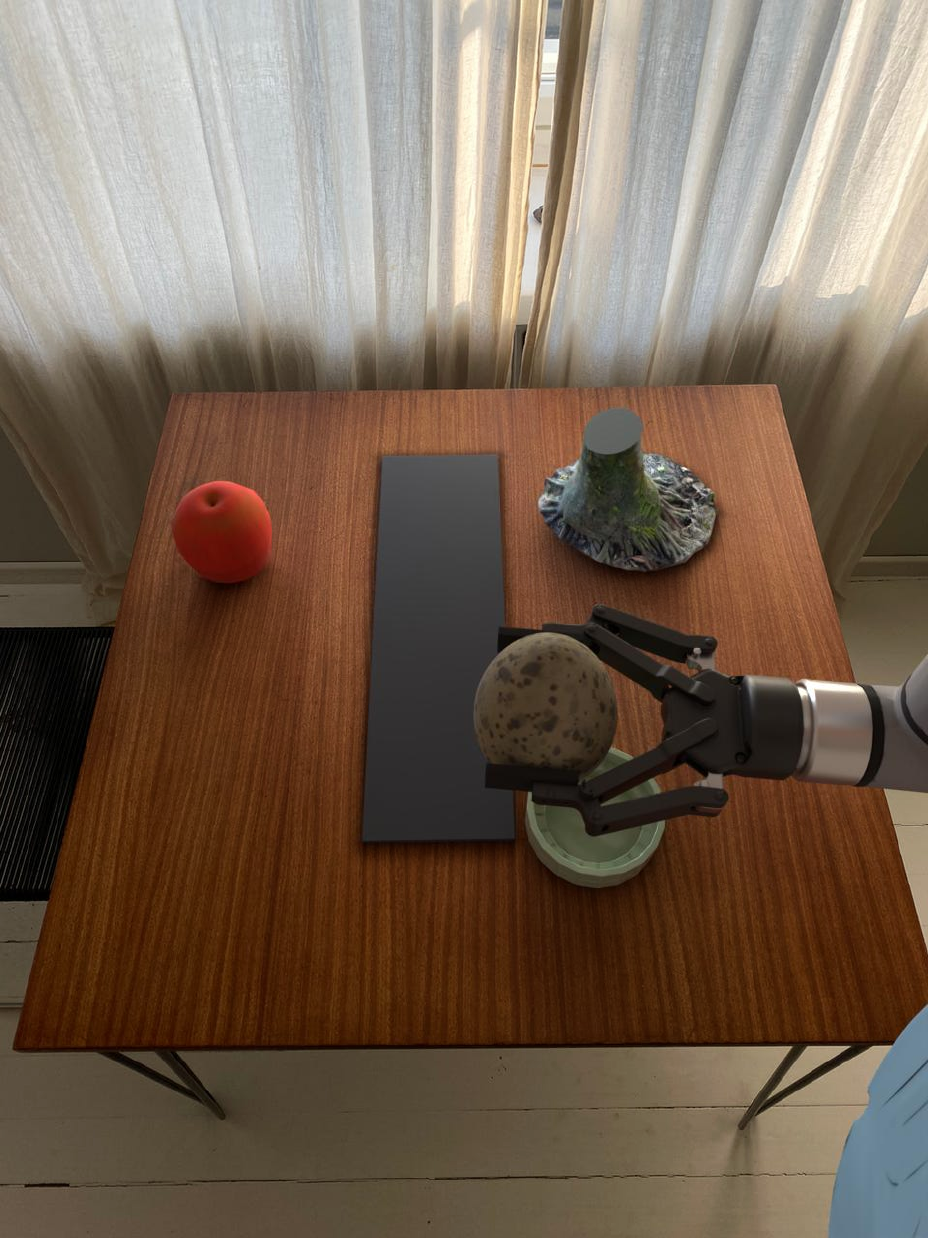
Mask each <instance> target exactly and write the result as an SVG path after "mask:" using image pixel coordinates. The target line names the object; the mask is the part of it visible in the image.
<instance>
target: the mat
mask: <svg viewBox="0 0 928 1238" xmlns="http://www.w3.org/2000/svg"><path fill="white" fill-rule="evenodd" d="M499 476H500V475H499V455H498V454H444V455H443V454H440V455H439V454H438V455H437V454H432V455H431V454H430V455H383V456H382V457H381V475H380V493H379V495H380V496H379V512H378V514H379V515H378V531H377V532H378V533H377V551H376V568H375V569H376V570H375V584H374V585H375V587H374V606H373V622H372V623H373V624H372V642H371V643H372V645H371V661H370V663H371V664H370V680H369V681H370V682H369V698H368V699H369V700H368V718H367V737H366V756H365V774H364V791H363V792H364V793H363V794H364V795H363V811H362V812H363V813H362V829H361V830H362V831H361V843H362V844H401V843H403V844H406V843H407V844H408V843H409V844H411V843H463V842H464V843H472V842H473V843H475V842H478V843H480V842H515V841H516V827H515V825H516V824H515V807H514V806H515V805H514V804H515V803H514V790H503V789H491V788H485V771H486V763H490V762H489V761H488V760H487V758H486V757H485V755H484V753H483V752H482V750H481V748H480V745H479V743H478V740H477V737H476V733H475V727H474V702H475V696H476V692H477V689H478V686H479V684H480V681H481V679H482V677H483V675H484V673H485V671H486V670H487V668H488V667H489V665H490V664H491V662H492V661H493V660H494V659H495V658H496V657H497V656H498V655H499V653H497V645H498V629H499V626H501V627H506V607H505V588H504V587H505V586H504V563H503V545H502V544H503V543H502V542H503V541H502V522H501V520H502V519H501V501H500V479H499Z"/></svg>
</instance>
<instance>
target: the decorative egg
mask: <svg viewBox="0 0 928 1238" xmlns="http://www.w3.org/2000/svg"><path fill="white" fill-rule="evenodd" d="M618 713H619V711H618V700H617V695H616V691H615V687H614V684H613V682H612V678H611V677H610V674H609V673H608V671H607V669H606V667H605V665H604V664H603V662H602V661H601V660H599V659H598V658H597V656H596V655H595V654H594V653H593V652H592V651H591V650H590V649H589V648H588V647H586V646H585V645H584V644H582V643H580V642H579V641H577V640H575V639H573V638H571V637H569V636H566V635H562V634H558V633H536V634H532V635H529V636H526V637H523V638H521V639H519V640H517V641H515V642H514V643H512V644H510V645H509V646H508V647H506V648H505V649H504V650H503V651H502V652H500V653H499V655H498V656H497V657H496V658H495V659H494V660H493V661H492V662H491V664H490V665H489V667H488V668H487V670H486V671H485V673H484V675H483V677H482V679H481V681H480V684H479V686H478V689H477V692H476V696H475V702H474V727H475V733H476V737H477V740H478V743H479V745H480V748H481V750H482V752H483V753H484V755H485V757H486V758H487V760H488V761H489V762H490V763H492V764H504V765H515V766H527V767H538V768H549V769H561V770H572V771H579V782H580V781H581V780H583V779H585V778H586V777H587V776H589V775H590V774H591V773H592V772H593V771H594V770H595V769H596V768H597V767H598V766H599V765H600V764H601V763H602V761H603V760H604V758H605V757H606V755H607V754H608V752H609V750H610V748H612V745H613V742H614V740H615V736H616V734H617V733H616V732H617V727H618V718H619V717H618V716H619V714H618Z"/></svg>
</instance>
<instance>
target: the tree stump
mask: <svg viewBox="0 0 928 1238" xmlns="http://www.w3.org/2000/svg"><path fill="white" fill-rule="evenodd" d="M643 430H644V425H643V421H642V419H641V418H640V417H639V415H637V414H636V412H634V411H632V410H630V409H629V408H626V407H619V406H615V407H611V408H605V409H604V410H602V411H599V412H598V413H596V414H594V415H593V416H592V417H591V418H590V419H589V420H588V421H587V423H586V425H585V426H584V430H583V437H582V444H581V448H580V449H581V450H580V457H579V458H578V459H576V460H575V461H573V462H572V463H570V465H565V467H563V468H562V467H558V468H556V469H555V470H554V471H553V475H551V478H550V477H545V478H544V483H543V485H544V489H543V490H542V493H541V495H540V496H539V498H538V501H537V503H538V507H537V508H538V512H539V513H540V514H541V515H542V517H543V520H544V524H545V525H546V526H547V527H548V529H550V530H551V531H553V532H554V534H555V535H556V536H557V538H558V539H559V540H561V541H562V542H563V543H566V544H568V545H570V546H571V547H572V548H574V549H575V550H576V551H578V552H581V553H582V554H583V555H584V556H587V557H589V558H591V559H592V560H594V561H596V562H597V563H602V564H604V565H607V566H611V567H613V568H619V569H622V570H626V571H638V572H643V573H646V572H657V571H660V570H663V569H666V568H671V567H675V566H678V565H681V564H682V565H683V564H685V563H686V562H687V561H688V560H689V559H690V558H691V557H692V556H693V555H694V554H696V553H697V552H699V551H701V550H702V549H704V547H705V546H707V545H708V544H709V542H710V539H711V537H712V532H713V528H714V525H715V520H716V516H717V512H718V510H717V508H716V506H715V504H714V501H715V500H716V492H715V491H712V489H711V488H709V487H708V488H707V487H706V484H705V483H704V482H703V481H702V480H701V479H700V478H699V477H697V476H695V475H694V474H693V473H692V470H690V469H688V468H687V467H684V466H682V465H680V464H679V463H677V462H675V461H674V460H672V459H670V458H669V457H667V456H665V455H663V454H658V453H650V452H649V453H648V452H645V451H643V447H642V437H643Z"/></svg>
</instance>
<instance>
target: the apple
mask: <svg viewBox="0 0 928 1238" xmlns="http://www.w3.org/2000/svg"><path fill="white" fill-rule="evenodd" d="M271 521H272V520H271V517H270V514H269V512H268V509H267V507H266V504H265V502H264V501H263V499H262V498H261V497H260V496H259V495H258V493H257V492H255V490H253V489H251V488H249V487H245V486H243V485H241V484H238V483H236V482H232V481H227V480H226V481H225V480H214V481H211V482H208V483H203V484H201V485H199V486H198V487H196V488H194V489H192V490H190V491H189V492H188V493H187V494H185V496H184V497H183V498H181V500H180V502H179V503H178V505H177V507H176V509H175V511H174V514H173V516H172V518H171V521H170V527H171V531H172V537H173V540H174V543H175V545H176V548H177V551H178V553H179V555H180V556H181V557H182V558H183V560H184V561H185V562H186V563H187V564H188V566H190V567H191V568H192V570H194V571H195V572H196V573H197V574H198V575H199V576H200V577H202V578H203V579H205V580H208V581H210V582H214V583H220V584H221V583H222V584H234V583H238V582H244V581H246V580H248V579H250V578H252V577H254V576H256V575H257V574H259V573H260V572H261V571H262V569H263V568H264V567H265V565H266V564H267V563H268V562H269V559H270V555H271V552H272V548H273V547H272V545H273V529H272V522H271Z"/></svg>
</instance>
